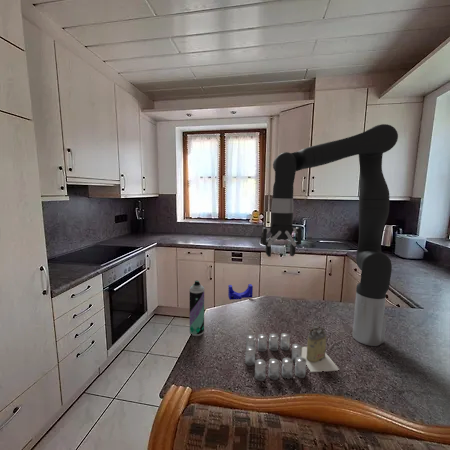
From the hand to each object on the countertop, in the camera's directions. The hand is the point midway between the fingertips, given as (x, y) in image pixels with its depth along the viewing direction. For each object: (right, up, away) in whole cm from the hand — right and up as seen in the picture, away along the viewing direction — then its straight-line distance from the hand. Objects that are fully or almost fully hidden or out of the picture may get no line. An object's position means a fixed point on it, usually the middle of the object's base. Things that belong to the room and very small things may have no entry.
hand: (280, 256), depth 91 cm
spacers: (-5, -32, -12) cm, 34 cm away
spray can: (-31, -30, +4) cm, 43 cm away
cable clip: (-12, -26, +38) cm, 47 cm away
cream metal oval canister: (+9, -32, -10) cm, 34 cm away
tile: (+9, -32, -10) cm, 35 cm away
